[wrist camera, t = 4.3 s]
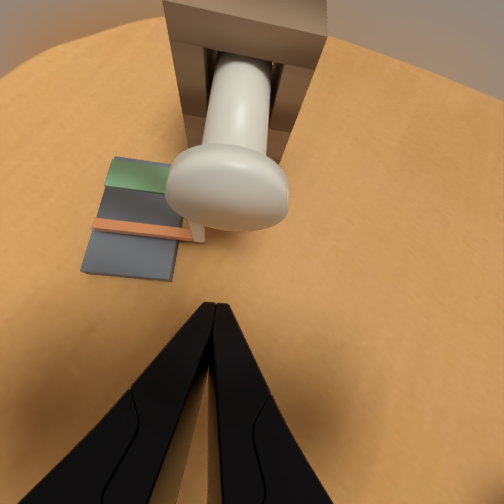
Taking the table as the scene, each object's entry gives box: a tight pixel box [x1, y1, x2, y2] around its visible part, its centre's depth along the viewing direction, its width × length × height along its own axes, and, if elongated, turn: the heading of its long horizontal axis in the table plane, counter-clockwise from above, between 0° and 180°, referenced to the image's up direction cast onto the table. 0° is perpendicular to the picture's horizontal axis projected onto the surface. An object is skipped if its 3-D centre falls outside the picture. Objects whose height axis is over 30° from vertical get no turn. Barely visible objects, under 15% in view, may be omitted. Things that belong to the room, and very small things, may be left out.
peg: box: [92, 50, 289, 243], centre depth 12 cm, size 11×10×8 cm
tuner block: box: [80, 0, 328, 282], centre depth 12 cm, size 13×11×10 cm
